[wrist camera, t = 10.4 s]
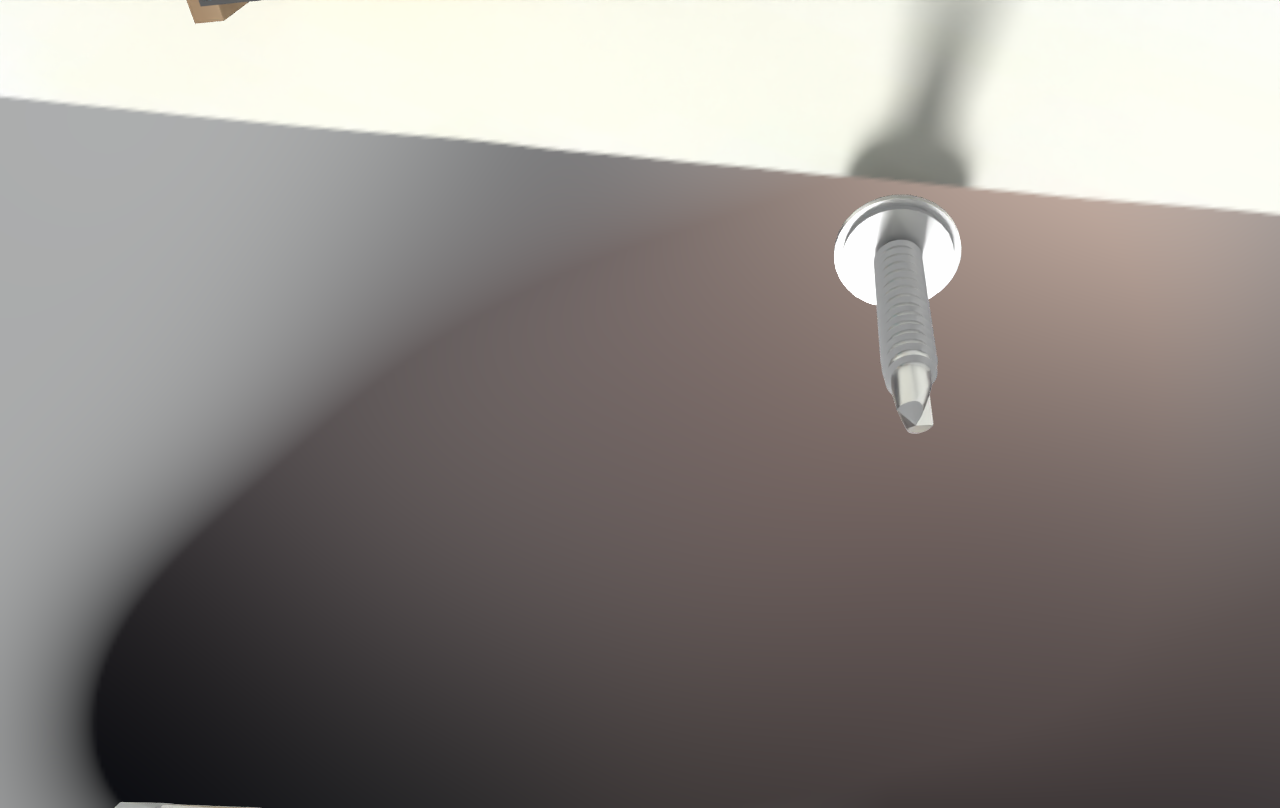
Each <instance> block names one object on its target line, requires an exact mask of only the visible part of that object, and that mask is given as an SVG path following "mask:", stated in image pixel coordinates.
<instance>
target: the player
mask: <svg viewBox="0 0 1280 808" xmlns="http://www.w3.org/2000/svg"><path fill="white" fill-rule="evenodd" d="M198 1H199V3H200V6H201V7H202V6H212V5H221V4H230V3H240V2H249V1H259V0H198Z"/></svg>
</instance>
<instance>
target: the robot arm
mask: <svg viewBox="0 0 1280 808" xmlns="http://www.w3.org/2000/svg"><path fill="white" fill-rule="evenodd" d="M115 808H250V807H225V806H197V805H176V804H169V803H132V802H130V803H129V802H128V803H127V802H120V803H119V804H118V805H117V806H116V807H115ZM251 808H253V807H251Z"/></svg>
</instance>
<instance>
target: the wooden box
mask: <svg viewBox="0 0 1280 808" xmlns="http://www.w3.org/2000/svg"><path fill="white" fill-rule="evenodd" d="M187 3H188V5H189V8H190V11H191V14H192V16H193V19H194V22H195V24H196V23H206V22H215V21H224V20H225V19H227V18H228V17H229V16H231V15H232V14H233V13H235V12H236V11H237V10H239V9H240V8H241V7H243V6H244V5H245V4H247V3H248V2H240V3H230V4H221V5H212V6H202V7H201V6H200V3H199V1H198V0H187Z"/></svg>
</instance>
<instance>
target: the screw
mask: <svg viewBox="0 0 1280 808" xmlns="http://www.w3.org/2000/svg"><path fill="white" fill-rule="evenodd" d="M960 258H961V242H960V237H959V232H958V229H957V227H956V225H955V224H954V221H953V219H952V218H951V217H950V216H949V215H948V213H947V212H946V211H945V210H944V209H942V208H941V207H939V206H938V205H937V204H935V203H934V202H931V201H929V200H927V199H924V198H922V197H917V196H912V195H891V196H886V197H880V198H878V199H875V200H873V201H870V202H868V203H866V204H865V205H863V206H862V207H860V208H858V209H857V210H856V211H855V212H854V213H853V214H852V215H851V216H850V217H849V218H848V219H847V220H846V221H845V223H844V224H843V226H842V227H841V229H840V231H839V233H838V236H837V238H836V241H835V249H834V259H835V267H836V270H837V273H838V275H839V278H840V280H841V281H842V282H843V284H844V285H845V286H846V288H847V289H848V290H849V291H850V292H852V293H853V294H854V295H855V296H856V297H858V298H860V299H862V300H864V301H866V302H867V303H871V304H874V305H876V306H877V317H878V334H879V344H880V355H881V357H880V361H881V366H882V374H883V377H884V379H885V384H886V387H887V389H888V391H889V392H890V393H891V394H892V395H893V398H894V402H895V405H896V410H897V411H898V413H899V415H900V418H901V420H902V422H903V424H904V426H905V427H906V429H907V431H908V432H910V433H921V432H924V431H926V430H928V429H929V428H931V427H932V426H933V418H932V410H931V403H930V391H931V387H932V384H933V383H934V381H935V379H936V377H937V364H938V359H937V356H936V347H935V339H934V336H933V327H932V320H931V312H930V308H929V307H930V305H929V300H928V299H929V298H931V297H933V296H934V295H935V294H937V293H938V292H939V291H941V290H942V289H943V288H944V287H945V286H946V285H947V284H948V283H949V282H950V281H951V279H952V277H953V276H954V274H955V272H956V270H957V268H958V265H959V261H960Z"/></svg>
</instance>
